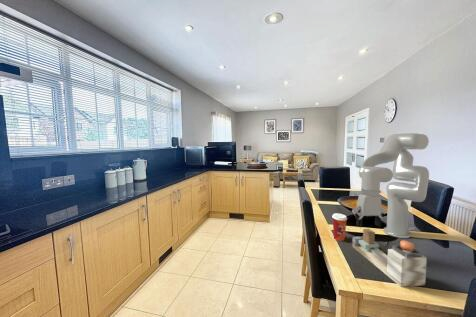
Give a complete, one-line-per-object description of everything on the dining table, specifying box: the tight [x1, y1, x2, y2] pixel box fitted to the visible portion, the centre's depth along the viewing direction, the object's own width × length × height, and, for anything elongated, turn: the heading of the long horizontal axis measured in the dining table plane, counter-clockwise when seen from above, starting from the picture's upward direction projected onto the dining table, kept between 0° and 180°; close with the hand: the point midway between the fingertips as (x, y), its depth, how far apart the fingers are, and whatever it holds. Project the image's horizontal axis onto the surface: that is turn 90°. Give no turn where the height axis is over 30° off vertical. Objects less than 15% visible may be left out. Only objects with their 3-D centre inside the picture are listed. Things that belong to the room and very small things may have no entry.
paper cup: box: [331, 212, 348, 242], centre depth 109 cm, size 8×8×14 cm
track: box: [351, 235, 428, 288], centre depth 86 cm, size 10×28×13 cm, turn 3°
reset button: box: [399, 239, 415, 252], centre depth 75 cm, size 4×4×2 cm
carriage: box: [358, 228, 380, 251], centre depth 96 cm, size 7×5×9 cm
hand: (368, 226), depth 95 cm, fingers open, 9 cm apart
